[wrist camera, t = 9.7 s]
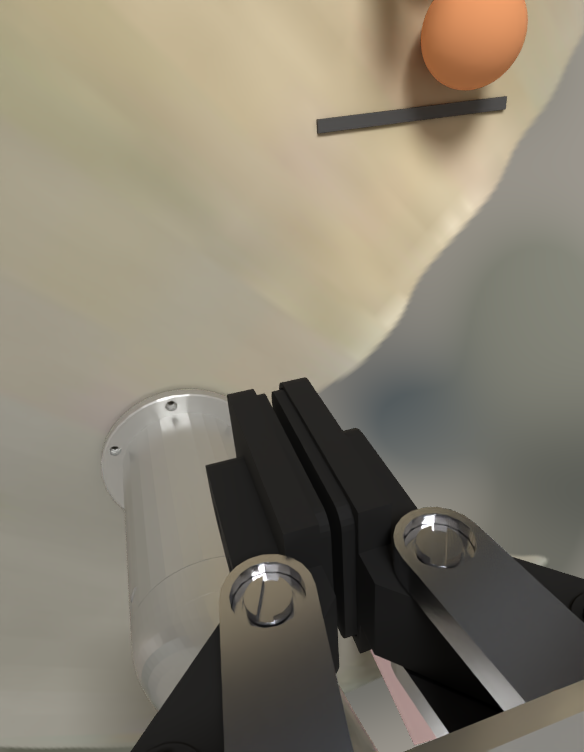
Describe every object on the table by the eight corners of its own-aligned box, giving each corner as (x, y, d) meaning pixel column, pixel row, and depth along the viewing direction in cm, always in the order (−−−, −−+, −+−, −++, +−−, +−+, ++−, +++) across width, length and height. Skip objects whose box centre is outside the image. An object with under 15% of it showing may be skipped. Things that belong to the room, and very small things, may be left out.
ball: (523, -45, 31) (445, 35, 36) (464, -71, 28) (386, 21, 33) (563, 45, 31) (479, 114, 36) (508, 30, 27) (422, 108, 32)
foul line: (503, 109, 38) (505, 109, 38) (317, 133, 35) (318, 133, 35) (505, 96, 37) (506, 96, 37) (316, 119, 34) (317, 119, 34)
